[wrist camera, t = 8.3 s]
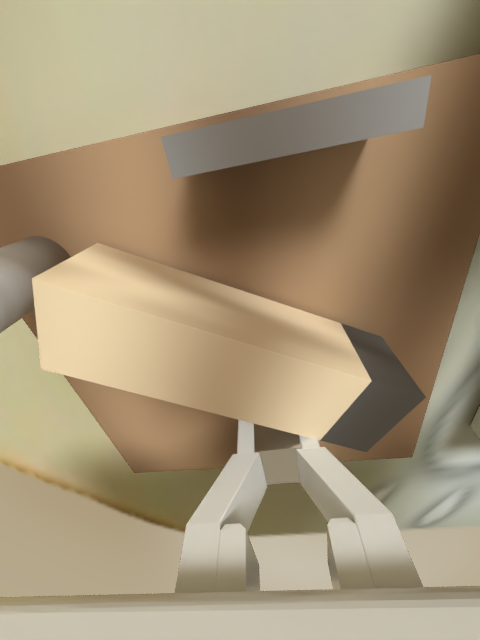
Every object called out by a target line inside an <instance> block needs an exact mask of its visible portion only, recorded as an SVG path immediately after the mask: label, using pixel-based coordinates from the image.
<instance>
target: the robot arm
mask: <svg viewBox="0 0 480 640" xmlns="http://www.w3.org/2000/svg"><path fill="white" fill-rule="evenodd" d="M281 483H300V484H301V485H302V487H303V488H304V490H305V491H306V492H307V494H308V495H309V497H310V498H311V499H312V501H313V502H314V504H315V505H316V506H317V508H318V509H319V511H320V512H321V513H322V515H323V516H324V518H325V519H326V520H327V522H328V525H327V536H328V565H329V570H330V575H331V581H332V585H333V589H332V590H330V589H329V590H287V591H260V579H259V564H258V561H257V558H256V556H255V553H254V550H253V548H252V545H251V542H250V539H249V537H248V534H247V533H248V531H249V528H250V526H251V524H252V521H253V519H254V517H255V514H256V512H257V510H258V507H259V505H260V503H261V501H262V498H263V496H264V494H265V491H266V489H267V485H271V484H281ZM0 640H480V586H456V587H423V585H422V583H421V580H420V578H419V576H418V573H417V571H416V569H415V566H414V564H413V561H412V559H411V557H410V554H409V552H408V549H407V547H406V545H405V542H404V540H403V538H402V535H401V533H400V530H399V528H398V526H397V523H396V521H395V518H394V516H393V514H392V513H391V512H390V511H389V510H388V509H387V508H386V507H385V506H384V505H383V504H382V503H381V502H380V501H379V500H378V499H377V498H376V497H375V496H374V495H373V494H372V493H371V492H370V491H369V490H368V489H367V488H366V487H365V486H364V485H363V484H362V483H361V482H360V481H359V480H358V479H357V478H356V477H355V476H354V475H353V474H352V473H351V472H350V471H349V470H348V469H347V468H346V467H345V466H344V465H343V464H342V463H341V462H340V461H339V460H338V459H337V458H336V457H335V456H334V455H333V454H332V453H331V452H330V451H329V450H328V449H327V448H326V447H320V445H319V441H318V438H308V437H304V436H301V435H297V434H293V433H289V432H285V431H281V430H277V429H273V428H269V427H265V426H261V425H258V424H254V423H250V422H246V421H242V420H238V440H237V454H233V455H232V456H231V458H230V459H229V461H228V462H227V464H226V465H225V467H224V468H223V470H222V471H221V473H220V474H219V476H218V477H217V479H216V480H215V482H214V483H213V485H212V487H211V488H210V490H209V491H208V493H207V494H206V496H205V497H204V499H203V500H202V502H201V503H200V505H199V506H198V508H197V509H196V511H195V512H194V514H193V515H192V517H191V518H190V520H189V521H188V523H187V525H186V530H185V537H184V542H183V548H182V553H181V559H180V565H179V571H178V577H177V582H176V588H175V593H160V594H118V595H76V596H34V597H0Z"/></svg>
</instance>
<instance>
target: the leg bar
mask: <svg viewBox="0 0 480 640" xmlns="http://www.w3.org/2000/svg"><path fill="white" fill-rule="evenodd" d="M32 286H33V296H34V306H35V316H36V325H37V335H38V345H39V355H40V365H41V369H43V370H46V371H50V372H54V373H58V374H62V375H66V376H70V377H74V378H78V379H82V380H86V381H89V382H93V383H97V384H101V385H105V386H109V387H113V388H117V389H121V390H125V391H129V392H132V393H136V394H140V395H144V396H148V397H152V398H156V399H160V400H164V401H168V402H172V403H175V404H179V405H183V406H187V407H191V408H195V409H199V410H203V411H207V412H211V413H215V414H218V415H222V416H226V417H230V418H234V419H238V420H242V421H246V422H250V423H254V424H258V425H261V426H265V427H269V428H273V429H277V430H281V431H285V432H289V433H293V434H297V435H301V436H304V437H308V438H318V440H320V441H324V442H328V443H332V444H336V445H340V446H344V447H347V448H351V449H355V450H359V451H363V452H367V451H368V450H369V449H371V448H372V447H373V446H374V445H375V444H376V443H377V442H378V441H379V440H380V439H381V438H382V437H384V436H385V435H386V434H387V433H388V432H389V431H390V430H391V429H392V428H393V427H394V426H395V425H397V424H398V423H399V422H400V421H401V420H402V419H403V418H404V417H405V416H406V415H407V414H408V413H410V412H411V411H412V410H413V409H414V408H415V407H416V406H417V405H418V404H419V403H420V402H421V401H423V400H424V399H425V398H426V396H425V395H424V394H423V392H422V391H421V390H420V388H419V387H418V386H417V384H416V383H415V381H414V380H413V379H412V377H411V376H410V375H409V373H408V372H407V371H406V369H405V368H404V366H403V365H402V364H401V362H400V361H399V360H398V358H397V357H396V356H395V354H394V353H393V351H392V350H391V349H390V347H389V346H388V345H387V343H386V342H385V340H384V339H383V338H382V337H381V336H378V335H375V334H372V333H369V332H366V331H363V330H360V329H357V328H354V327H351V326H348V325H345V324H342V323H339V322H336V321H333V320H330V319H327V318H323V317H320V316H317V315H314V314H311V313H308V312H305V311H302V310H299V309H296V308H293V307H290V306H287V305H284V304H281V303H278V302H275V301H272V300H269V299H266V298H263V297H260V296H257V295H254V294H251V293H248V292H245V291H242V290H239V289H236V288H233V287H230V286H227V285H224V284H221V283H218V282H215V281H212V280H209V279H206V278H203V277H200V276H197V275H194V274H191V273H188V272H185V271H181V270H178V269H175V268H172V267H169V266H166V265H163V264H160V263H157V262H154V261H151V260H148V259H145V258H142V257H139V256H136V255H133V254H130V253H127V252H124V251H121V250H118V249H115V248H112V247H109V246H106V245H103V244H100V243H97V244H95V245H93V246H91V247H89V248H87V249H85V250H84V251H82V252H80V253H78V254H76V255H74V256H72V257H71V258H69V259H67V260H65V261H63V262H61V263H59V264H58V265H56V266H54V267H52V268H50V269H48V270H46V271H45V272H43V273H41V274H39V275H37V276H35V277H33V278H32Z"/></svg>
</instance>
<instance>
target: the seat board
mask: <svg viewBox="0 0 480 640" xmlns="http://www.w3.org/2000/svg"><path fill="white" fill-rule="evenodd" d="M479 234H480V54H476V55H472V56H467V57H463V58H459V59H455V60H450V61H446V62H442V63H438V64H433V65H429V66H425V67H420V68H416V69H412V70H408V71H403V72H399V73H395V74H391V75H386V76H382V77H378V78H373V79H369V80H365V81H361V82H356V83H352V84H348V85H344V86H339V87H335V88H331V89H326V90H322V91H318V92H314V93H309V94H305V95H301V96H296V97H292V98H288V99H284V100H279V101H275V102H271V103H267V104H262V105H258V106H254V107H249V108H245V109H241V110H237V111H232V112H228V113H224V114H220V115H215V116H211V117H207V118H202V119H198V120H194V121H190V122H185V123H181V124H177V125H173V126H168V127H164V128H160V129H155V130H151V131H147V132H143V133H138V134H134V135H130V136H125V137H121V138H117V139H113V140H108V141H104V142H100V143H96V144H91V145H87V146H83V147H78V148H74V149H70V150H66V151H61V152H57V153H53V154H49V155H44V156H40V157H36V158H31V159H27V160H23V161H19V162H14V163H10V164H6V165H1V166H0V333H1V332H2V331H4V330H5V329H6V328H8V327H9V326H11V325H12V324H14V323H15V322H17V321H18V320H20V319H21V318H23V320H24V321H25V323H26V324H27V325H28V327H29V328H30V329H31V331H32V332H33V334H34V335H35V336H36V338H37V339H38V335H37V325H36V316H35V306H34V296H33V286H32V278H33V277H35V276H37V275H39V274H41V273H43V272H45V271H46V270H48V269H50V268H52V267H54V266H56V265H58V264H59V263H61V262H63V261H65V260H67V259H69V258H71V257H72V256H74V255H76V254H78V253H80V252H82V251H84V250H85V249H87V248H89V247H91V246H93V245H95V244H97V243H100V244H103V245H106V246H109V247H112V248H115V249H118V250H121V251H124V252H127V253H130V254H133V255H136V256H139V257H142V258H145V259H148V260H151V261H154V262H157V263H160V264H163V265H166V266H169V267H172V268H175V269H178V270H181V271H185V272H188V273H191V274H194V275H197V276H200V277H203V278H206V279H209V280H212V281H215V282H218V283H221V284H224V285H227V286H230V287H233V288H236V289H239V290H242V291H245V292H248V293H251V294H254V295H257V296H260V297H263V298H266V299H269V300H272V301H275V302H278V303H281V304H284V305H287V306H290V307H293V308H296V309H299V310H302V311H305V312H308V313H311V314H314V315H317V316H320V317H323V318H327V319H330V320H333V321H336V322H339V323H342V324H345V325H348V326H351V327H354V328H357V329H360V330H363V331H366V332H369V333H372V334H375V335H378V336H381V337H382V338H383V339H384V340H385V342H386V343H387V345H388V346H389V347H390V349H391V350H392V351H393V353H394V354H395V356H396V357H397V358H398V360H399V361H400V362H401V364H402V365H403V366H404V368H405V369H406V371H407V372H408V373H409V375H410V376H411V377H412V379H413V380H414V381H415V383H416V384H417V386H418V387H419V388H420V390H421V391H422V392H423V394H424V395H425V396H426V398H425V399H424V400H423V401H421V402H420V403H419V404H418V405H417V406H416V407H415V408H414V409H413V410H412V411H411V412H410V413H408V414H407V415H406V416H405V417H404V418H403V419H402V420H401V421H400V422H399V423H398V424H397V425H395V426H394V427H393V428H392V429H391V430H390V431H389V432H388V433H387V434H386V435H385V436H384V437H382V438H381V439H380V440H379V441H378V442H377V443H376V444H375V445H374V446H373V447H372V448H371V449H369V450H368V451H367V452H363V451H359V450H355V449H351V448H347V447H344V446H340V445H336V444H332V443H328V442H324V441H320V440H318V441H319V445H320V447H326V448H327V449H328V450H329V451H330V452H331V453H332V454H333V455H334V456H335V457H336V458H337V459H338V460H339V461H353V460H371V459H388V458H406V457H412V456H413V453H414V449H415V446H416V443H417V439H418V436H419V433H420V429H421V426H422V423H423V420H424V416H425V413H426V410H427V406H428V403H429V400H430V396H431V393H432V390H433V386H434V383H435V380H436V376H437V373H438V370H439V367H440V363H441V360H442V357H443V353H444V350H445V347H446V343H447V340H448V337H449V333H450V330H451V327H452V323H453V320H454V317H455V314H456V310H457V307H458V304H459V300H460V297H461V294H462V290H463V287H464V284H465V280H466V277H467V274H468V271H469V267H470V264H471V261H472V257H473V254H474V251H475V247H476V244H477V241H478V237H479ZM64 376H65V378H66V379H67V380H68V382H69V383H70V385H71V386H72V387H73V389H74V390H75V392H76V393H77V394H78V396H79V397H80V398H81V400H82V401H83V403H84V404H85V405H86V407H87V408H88V409H89V411H90V412H91V414H92V415H93V416H94V418H95V419H96V421H97V422H98V423H99V425H100V426H101V427H102V429H103V430H104V432H105V433H106V434H107V436H108V437H109V438H110V440H111V441H112V443H113V444H114V445H115V447H116V448H117V450H118V451H119V452H120V454H121V455H122V456H123V458H124V459H125V461H126V462H127V463H128V465H129V466H130V467H131V469H132V470H133V472H134V473H140V472H158V471H176V470H193V469H211V468H224V467H225V465H226V464H227V462H228V461H229V459H230V458H231V456H232V455H233V454H237V440H238V419H234V418H230V417H226V416H222V415H218V414H215V413H211V412H207V411H203V410H199V409H195V408H191V407H187V406H183V405H179V404H175V403H172V402H168V401H164V400H160V399H156V398H152V397H148V396H144V395H140V394H136V393H132V392H129V391H125V390H121V389H117V388H113V387H109V386H105V385H101V384H97V383H93V382H89V381H86V380H82V379H78V378H74V377H70V376H66V375H64Z"/></svg>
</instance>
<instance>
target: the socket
mask: <svg viewBox="0 0 480 640" xmlns="http://www.w3.org/2000/svg"><path fill="white" fill-rule="evenodd" d="M470 428H471V429H472V430H473V431H474V433H475V434H476V435H477V436H478V438H479V439H480V406H479V408H478V410H477V413H476V415H475V417H474V419H473V421H472V423H471V426H470Z"/></svg>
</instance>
